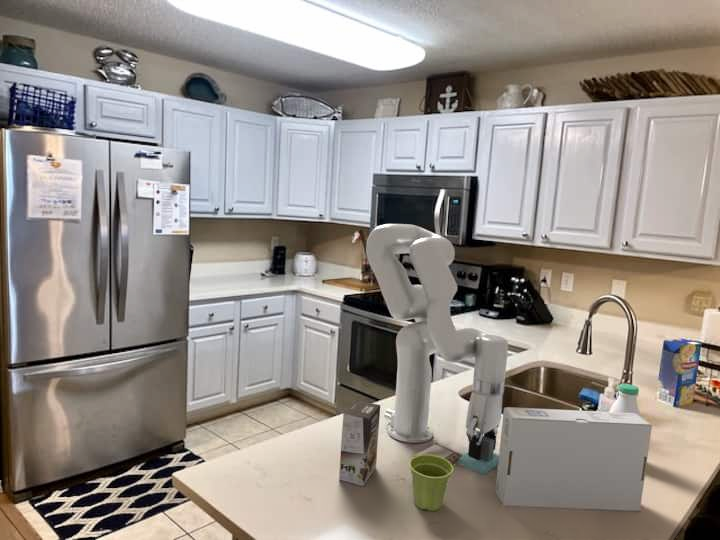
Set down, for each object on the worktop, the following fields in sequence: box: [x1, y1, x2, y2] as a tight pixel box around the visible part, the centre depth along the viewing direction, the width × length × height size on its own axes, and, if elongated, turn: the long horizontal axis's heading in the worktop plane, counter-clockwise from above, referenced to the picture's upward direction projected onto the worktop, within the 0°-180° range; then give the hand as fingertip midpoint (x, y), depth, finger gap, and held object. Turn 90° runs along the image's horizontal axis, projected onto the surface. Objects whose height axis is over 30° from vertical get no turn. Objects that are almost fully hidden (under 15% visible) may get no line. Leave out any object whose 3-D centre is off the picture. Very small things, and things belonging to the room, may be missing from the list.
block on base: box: [457, 433, 499, 475], centre depth 127 cm, size 7×10×6 cm
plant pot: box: [408, 455, 454, 512], centre depth 108 cm, size 9×9×9 cm
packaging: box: [495, 406, 653, 512], centre depth 112 cm, size 30×6×20 cm, turn 92°
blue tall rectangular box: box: [655, 338, 703, 408], centre depth 179 cm, size 7×11×22 cm, turn 117°
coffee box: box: [338, 400, 381, 487], centre depth 118 cm, size 9×6×16 cm
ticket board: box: [412, 442, 463, 466], centre depth 127 cm, size 8×10×2 cm
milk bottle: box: [609, 383, 642, 418], centre depth 134 cm, size 8×8×20 cm
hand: (481, 452), depth 127 cm, fingers open, 6 cm apart
